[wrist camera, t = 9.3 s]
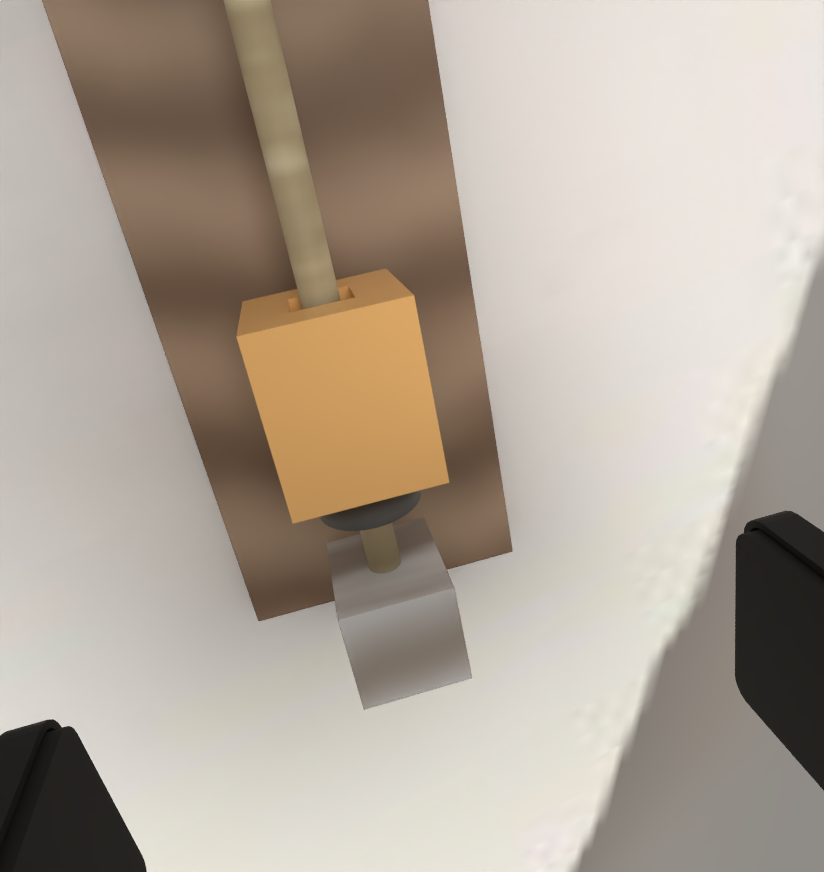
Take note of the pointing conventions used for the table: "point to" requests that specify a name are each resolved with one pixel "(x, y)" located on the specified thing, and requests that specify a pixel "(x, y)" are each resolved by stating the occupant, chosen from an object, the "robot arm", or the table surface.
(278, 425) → the sleeve
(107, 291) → the table surface
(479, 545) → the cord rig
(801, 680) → the robot arm
